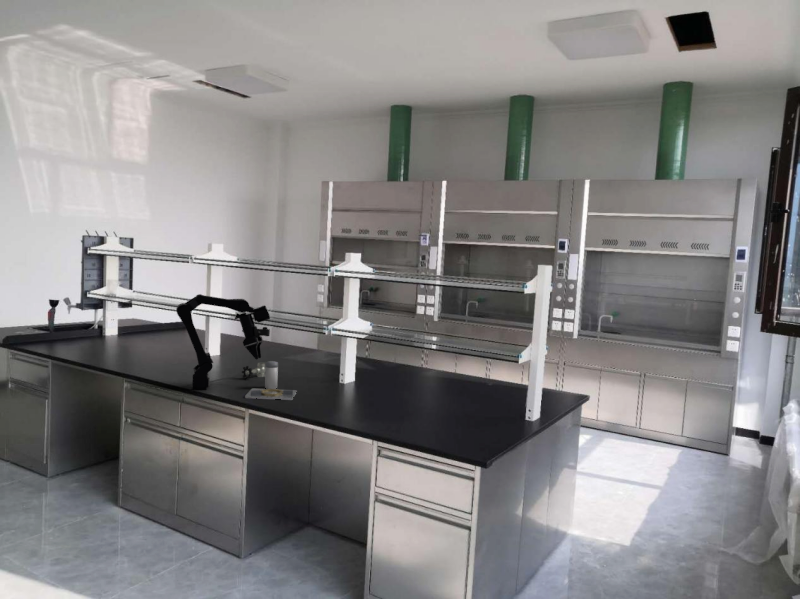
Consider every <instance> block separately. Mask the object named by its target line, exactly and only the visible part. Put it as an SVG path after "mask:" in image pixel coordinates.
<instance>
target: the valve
mask: <svg viewBox="0 0 800 599" xmlns="http://www.w3.org/2000/svg"><path fill="white" fill-rule="evenodd" d="M265 366H266V362H257V367H255V368H254V369H252V367H250V366H249V365H246V366H243V367H242V371H241V373H242V374H243V375H242V377H243V378H245V380H246V379H247V380H250V379H252V375H256V377H258V378H265Z"/></svg>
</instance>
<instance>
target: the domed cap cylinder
mask: <svg viewBox="0 0 800 599" xmlns="http://www.w3.org/2000/svg"><path fill="white" fill-rule="evenodd" d="M278 372H279V362H278V361H274V360H269V361H265V377H264V389H265V388H266V389H276V388H277V389H278V378H279V375H278V374H279V373H278Z"/></svg>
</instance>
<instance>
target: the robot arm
mask: <svg viewBox="0 0 800 599" xmlns="http://www.w3.org/2000/svg"><path fill="white" fill-rule="evenodd" d="M200 305H207V306H214V307H221V308H227V309H229V310H233V311H235V312H237V313H236V316H235V317H234V320H237V319H239V322H240V325H241V328H242V330H241V332H242V333H243V335H244V339H243V341H242V344H243V347H244V348H245V349H246V350H247V351H248V352H249V353H250V354H251V356H252V357H253V359H255V360H258V359H261V358H262V351H261V350H262V349H261V346H262V344H263V341H264V340H263V337H270V332H271V330H270V329H269V328H268V327H267V326H263V327H262V328H258V327H257V326H256V325H255V322H257V323H259V324H260V323H262V322H265V321H269V320H270V319H271V317H270V313H269V311H268V308H267V306H266V305H262V306H260V307H256V308H254V307H253V306H250V303H249V302H248V300H246V299H245V298H222V297H215V296H210V295H205V294H204V295H203V294H201V293H200V294H199V293H198V294H196V295H195V296H194V297H193V298H191V299H189V300H187V301H186V302H183V303H179V304H178V305H177V306H176V315H177V316H178V317H179V319H180V321H181V322H182V324H183V325H184V327H185V329H186V332H187V335H188V336H189V339H190V341H191V343H192V347H193V349H194V351H195V354H196V360H197V363H198V364H196V365H195V367H193V368H192V369H193V370H192V371H193V374H192V387H191V390H197V391H198V390H200V391H202V390H208V388H210V376H209V372H211V371H212V369H213V367H214V365H213V364H214V361H213V359H212V356H211V353H210V352H206V351H205V349H204V347H203V345H202V342H201V340H200V337H199V335H198V332H197V330H196V326H195V325H194V322H193V316H192V311H194V310H195V309H196V308H198V307H199V306H200ZM238 312H239V313H238ZM246 312H247V313H246ZM262 336H263V337H262Z"/></svg>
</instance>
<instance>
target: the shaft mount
mask: <svg viewBox="0 0 800 599" xmlns="http://www.w3.org/2000/svg"><path fill="white" fill-rule="evenodd" d="M296 392H297V393H298V390H295V389H279V388H277V389H265V388H257V387H256V388H255V387H254V388H251V389H250V390H249V391H248V392H247V393H246V394H245V396H244V399H254V400H255V399H256V398H257V400H258V399H260V400H275V399H281V401H293V399H294V398H293V397H295V396H296V394H297V393H296Z"/></svg>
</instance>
